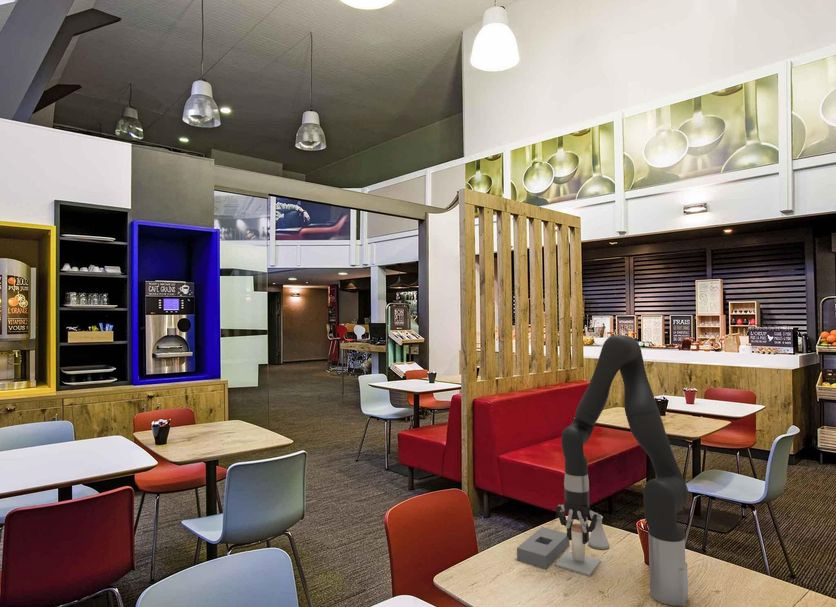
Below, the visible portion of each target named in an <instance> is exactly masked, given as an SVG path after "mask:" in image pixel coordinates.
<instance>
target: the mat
mask: <svg viewBox="0 0 836 607" xmlns="http://www.w3.org/2000/svg"><path fill="white" fill-rule="evenodd" d="M601 563H602V560H601V559H599V558H596V557H591V556H588V555H585V560H582V561H579V560H575V559H573V558H572V551H569V550H567V551H566V552H565V553H564V554H563V556H561V557H560V558H559V559H558V560H557V561H556V562H555V563H554V566H555V567H558V568H560V569H564V570H568V571H569V572H570V571H571V572H575V573H577V574H581V575H585V576H588V577H590V576H591V575H593V573H594V572H595V570H596V569H597V568H598V567H599V565H600V564H601Z"/></svg>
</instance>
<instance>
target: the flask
mask: <svg viewBox="0 0 836 607" xmlns="http://www.w3.org/2000/svg"><path fill="white" fill-rule="evenodd" d="M603 517H604V516H602V515H601V514H599V518H598V521H597V524H596V527H595V529H594V530H593V531H592V532H590V534H589V541H588V542H587V545H588V546H589V547H591V548H592V549H596V550H606V549H610V543H609V541H608V538H607V535H606V532H605V529H604V526H603Z"/></svg>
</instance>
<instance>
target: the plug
mask: <svg viewBox="0 0 836 607" xmlns="http://www.w3.org/2000/svg"><path fill="white" fill-rule="evenodd" d="M571 537H572V540H571V552H572V558H573V559H575V560H579V561H582V560H585V556H586V544H583V529H582V526H581V524H580V523H573V524H572V525H571Z"/></svg>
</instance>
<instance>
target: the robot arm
mask: <svg viewBox="0 0 836 607" xmlns="http://www.w3.org/2000/svg"><path fill="white" fill-rule="evenodd" d="M599 353H600V354H599V357H598V360H597V363H596V366H595V368H594V371H593V374H592V376H591V379H590V382H589V384H588V386H587V387H586V390H585V391H584V394H583V396H582V397H581V399H580V401H579V404H578V405H577V407H576V410H575V417H574V419H573V421H572V422H571V424H570V425H569V426H567V427H566V428H564V429H563V430H562V432H561V441H560V442H561V448H562V453H563V456H564V479H563V480H564V481H563V486H564V503H563V504H558V505H557V506H555V510H556V513H557V516H558V519H559V523H560V525H561V526H564V527H565V528H566V533H567V538H569V541H572V537H571V525H572V524H574V520H576V521H579V524H581V526H582V529H583V544H585V545H586V544H588V541H589V537H590V533H591V532H592V531H593V530H594V529H595V527H596V524H597V521H598V518H599V515H600V513H599V512H598V511H597V512H595V511H593V510H592V509H591V506H590V482H589V481H590V480H589V474H588V473H589V471H588V469H589V466H588V463H589V462H588V459H587V457H586V455H585V450H584V445H585V444H586V443H587V442H588V441H589V439H590V438H591V435H592V434H593V431H594V428H595V426H596V422H597V421H598V419H599V418H600V416H601V414H602V412H603V410H604V408H605V407H606V404H607V402H608V398H609V394H610V388H611V386H612V383H613V381H614V380H615V377H616V375H617V374H618V372H620V376H621V378H622V383H623V387H624V391H623V395H624V396H623V398H624V399H623V401H624V402H623V404H624V405H623V406H624V407H623V408H624V413H625V417H626V420H627V423H628V426H629V429H630V432H631V435H632V436H633V437H634V439H635V441H636V442H637V443H638V445H639V446H640V447H641V448H642V449H643V450H644V452H645V453H646V454H647V455H648V457H649V459H650V461H651V464H652V468H653V470H654V473H655V478H652V479H650V480H648V481H647V482H646V483H645V485H644V487H643V496H642V497H643V511H644V512H643V513H644V519H645V523H646V525H647V529H648V562H649V563H648V564H649V565H648V566H649V568H648V570H649V571H648V572H649V594H650V597H651V598H653V599H654V600H655V601H657V602H659V603H662V604H664V605H669V606H681V607H685V606H686V604H687V601H688V598H689V588H688V587H689V584H688V583H689V581H688V578H689V577H688V563H687V562H686V539H685V538H686V537H685V534H686V533H685V528H684V526H683V525H682V524H681V523H680V522H677V515H676V511H677V510H679V509H682V508H684V507H685V506H686V505H687V504H688V502H689V499H690V493H689V490H688V489H689V488H688V485H687V483H686V481H685V479H684V476H683V474H682V472H681V469H680V467H679V465H678V463H677V461H676V457H675V456H674V453H673V450H672V446H671V444H670V441H669V438H668V434H667V433H666V430H665V424H664V423H663V422H664V421H663V418H662V417H661V413H660V410H659V407H658V405H657V402H656V399H655V396H654V395H655V394H654V393H653V390H652V387H651V384H650V382H649V378H648V376H647V372H646V367H645V362H644V357H643V353H642V348H641V346H640V344H639V342H638V341H637V340H636V339H635V338H633V337H632V336H628V335H622V334H614V335H611V336H608V338H606V340H605V341H604V342H603V345H602V347H601V350H600V352H599ZM565 511H566V513H567V517H566V514H565ZM588 516H590V519H591V522H590V524H589V523H588V522H589V519H588Z"/></svg>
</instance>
